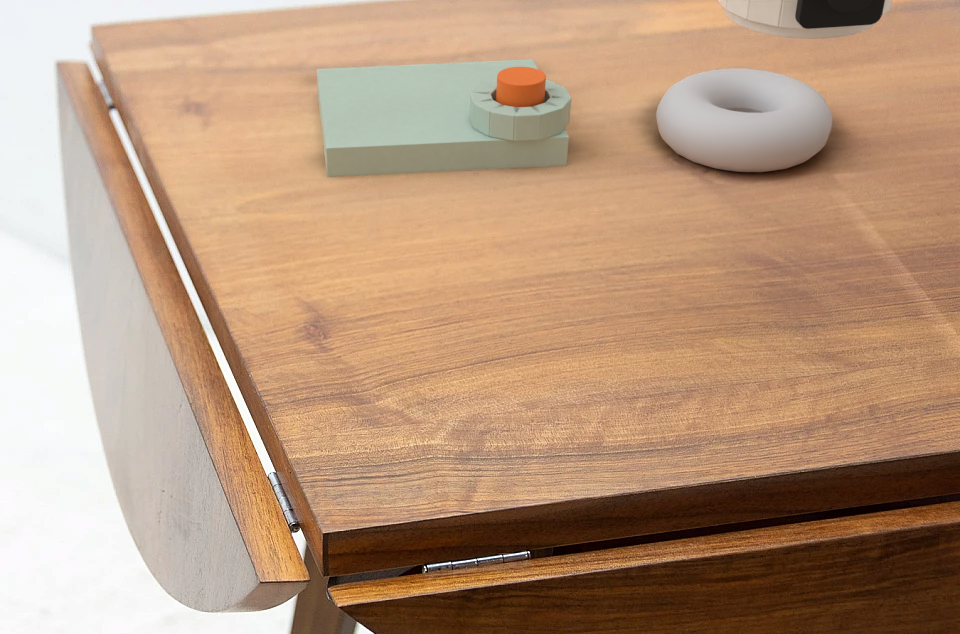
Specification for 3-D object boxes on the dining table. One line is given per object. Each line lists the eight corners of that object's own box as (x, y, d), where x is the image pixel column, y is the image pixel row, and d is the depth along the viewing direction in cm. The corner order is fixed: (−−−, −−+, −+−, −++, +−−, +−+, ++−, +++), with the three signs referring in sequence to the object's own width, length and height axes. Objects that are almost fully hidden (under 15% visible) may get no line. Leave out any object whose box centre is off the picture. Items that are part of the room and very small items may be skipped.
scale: (537, 86, 91) (540, 34, 88) (573, 169, 81) (578, 112, 78) (317, 96, 90) (316, 44, 88) (327, 180, 80) (325, 124, 78)
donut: (618, 146, 83) (758, 198, 77) (623, 91, 81) (766, 140, 75) (722, 100, 88) (862, 146, 82) (729, 47, 86) (873, 90, 80)
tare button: (539, 90, 82) (541, 65, 81) (548, 109, 80) (550, 83, 79) (492, 92, 82) (493, 67, 81) (499, 111, 80) (501, 86, 79)
